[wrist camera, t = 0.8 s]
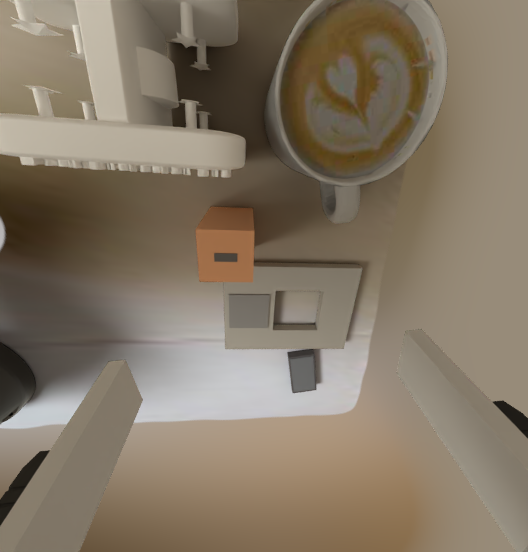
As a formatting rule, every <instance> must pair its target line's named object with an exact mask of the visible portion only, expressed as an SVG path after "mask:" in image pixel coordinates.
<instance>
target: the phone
mask: <svg viewBox="0 0 528 552" xmlns="http://www.w3.org/2000/svg"><path fill="white" fill-rule="evenodd" d="M288 361H289V369H290V378H291V386H292V392H293V393H298V392H305V391H312V390H316V373H315V355H314V351H313V349H309V350H302V351H295V352H288Z"/></svg>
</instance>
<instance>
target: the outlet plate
mask: <svg viewBox="0 0 528 552" xmlns="http://www.w3.org/2000/svg"><path fill="white" fill-rule="evenodd" d="M362 269H363V268H362V267H361V266H360V265H359V264H316V263H263V262H254V269H253V282H223V288H224V322H225V349H344V345H345V341H346V337H347V333H348V328H349V324H350V320H351V316H352V311H353V307H354V303H355V299H356V295H357V290H358V286H359V282H360V278H361V273H362ZM276 291H320V297H319V304H318V310H317V316H316V322H315V325H273V320H274V306H275V293H276Z"/></svg>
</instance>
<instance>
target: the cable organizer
mask: <svg viewBox="0 0 528 552" xmlns="http://www.w3.org/2000/svg"><path fill="white" fill-rule="evenodd" d="M9 1H10V2H12V3H13V4H15V5H16V9H17V12H18V16H19V19H20V20H19V19H16V18H13V17H10V16H9V17H10V18H12V19H13V20H15V21H16V22H18V23H19V24H13V25H11V26H14V27H17V28H19V29H22V30H24V31H27V32H29V33H32V34H34V35H37V36H61V35H62V34H59V33H57V32H54V31H52V30H49V29H48V28H47V26H46V24H43V23H36V19H35V17H36V18H37V19H39V20H41V21H43V22H45V23H47V24H50V25H52V26H55V27H58V28H62V29H66V30H70V31H73V32H74V37H75V42H76V47H77V52H78V54H76V53H73V52H70V51H68V52H70V53H71V54H73V55H68V56H71V57H75V58H78V59H81V60H84V61H86V64H87V70H88V75H89V80H90V86H91V91H92V94H93V100H94V102H90V101H79V102H78V103H82V106H83V111H84V116H85V119H73V118H61V117H54V115H53V111H52V107H51V103H50V99H49V95H48V93H52V94H53V92H54V93H61V92H58V91H55V90H51V89H48V88H45V87H41V86H29V85H24V86H27V87H30V88H28V89H32V90H33V94H34V98H35V101H36V105H37V109H38V112H39V116H36V115H24V114H8V113H0V154H3V155H9V156H17V157H20V160H21V164H22V165H34V166H35V165H40V164H45V166H60V167H69V168H72V167H74V168H90V169H94V170H104V169H108V170H116V169H119V170H120V171H130V172H133V171H135V172H137V171H138V170H140V171H141V172H152V171H153V173H160V172H161V173H162V174H164V173H165V174H168V172H171V174H183V173H184V175H191V172H190V169H197V170H198V176H200V177H208V176H209V170H212V177H218V170H221V177H225V178H229V177H231V170H234V169H240V168H242V167H244V165H245V160H246V141H245V138H243V137H242V136H239V135H236V134H233V133H228V132H223V131H216V130H208V115H211V114H210V113H208V112H204V111H197V112H196V105H200V104H198V103H199V102H197V101H193V100H186V99H181V100H182V101H178V93H177V84H176V75H175V66H174V64H173V63H172V61H171V60H169V59H168V58H167V47H166V42H174V43H182V44H183V45H184V46H185V47H186V48H188V47H189V46H197V62H195V61H194V63H195V65H189V66H192V67H195V68H198V69H199V70H200V71H201V70H211V69H209V68H208V66H209V65H210V64H206V46H213V47H223V46H230V45H233V44H235V43H236V42H237V41H238V5H237V0H9ZM63 94H64V93H63ZM179 102H180V103H185V115H186V128H184V127H173V124H172V111H171V108H177V107H179ZM93 106H95V110H96V115H97V119H98V120H96V119H95V114H94V108H93ZM200 106H203V105H200ZM196 113H197V114H199V121H200V129H197V117H196ZM106 164H107V168H106Z"/></svg>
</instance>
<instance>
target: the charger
mask: <svg viewBox="0 0 528 552" xmlns="http://www.w3.org/2000/svg"><path fill="white" fill-rule="evenodd" d="M254 234H255V230H254V216H253V208H236V207H210V208H209V210H208V211H207V213H206V214H205V216H204V217H203V219H202V220H201V222H200V223H199V225H198V226H197V228H196V242H197V255H198V268H199V281H200V282H253V269H254Z"/></svg>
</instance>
